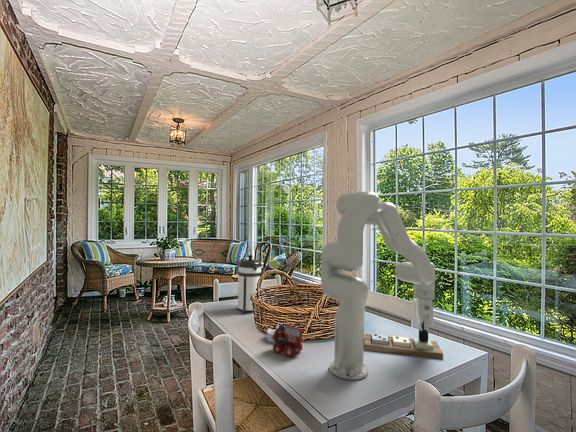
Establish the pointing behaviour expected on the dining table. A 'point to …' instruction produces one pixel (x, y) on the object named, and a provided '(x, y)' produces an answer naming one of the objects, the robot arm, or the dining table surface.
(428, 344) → the pale green drawer
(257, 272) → the coffee press
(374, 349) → the wooden compartment tray
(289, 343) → the toy fire truck
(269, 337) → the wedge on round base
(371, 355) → the dining table surface
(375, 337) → the pale blue drawer
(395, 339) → the cream drawer
